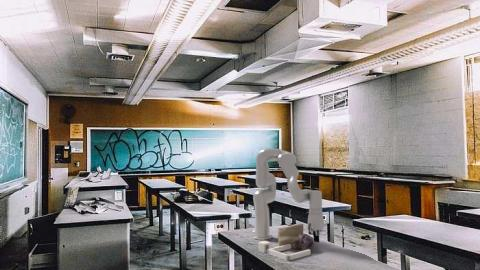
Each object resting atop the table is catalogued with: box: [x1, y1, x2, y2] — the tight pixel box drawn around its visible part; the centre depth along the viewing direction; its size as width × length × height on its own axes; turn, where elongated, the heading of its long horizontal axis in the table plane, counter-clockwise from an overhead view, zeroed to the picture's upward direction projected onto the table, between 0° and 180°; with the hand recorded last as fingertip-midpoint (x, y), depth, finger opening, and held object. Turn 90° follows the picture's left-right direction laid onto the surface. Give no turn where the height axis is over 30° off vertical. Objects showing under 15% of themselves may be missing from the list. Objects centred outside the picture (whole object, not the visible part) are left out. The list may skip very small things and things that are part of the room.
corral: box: [266, 244, 312, 261], centre depth 214 cm, size 17×18×2 cm
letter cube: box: [257, 240, 271, 253], centre depth 222 cm, size 5×5×5 cm
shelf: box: [275, 223, 304, 248], centre depth 231 cm, size 6×20×12 cm, turn 127°
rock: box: [294, 232, 315, 251], centre depth 223 cm, size 12×9×10 cm
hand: (316, 241), depth 228 cm, fingers closed
